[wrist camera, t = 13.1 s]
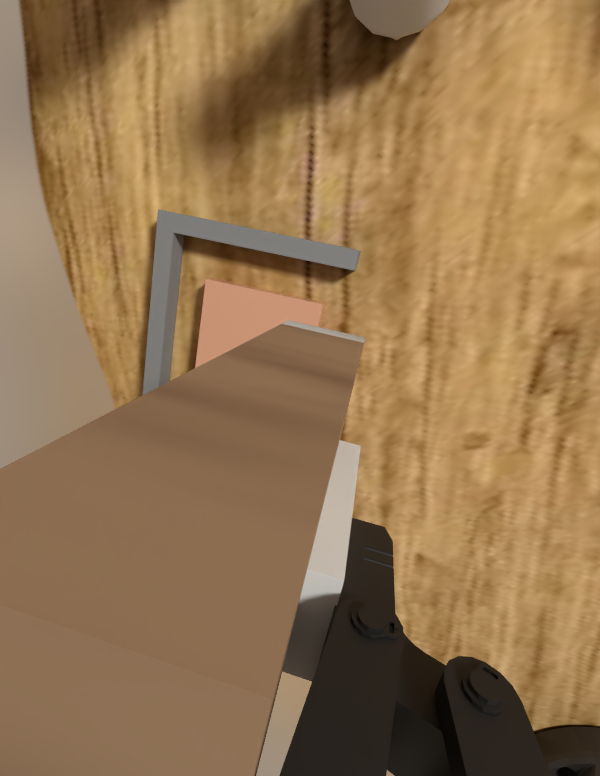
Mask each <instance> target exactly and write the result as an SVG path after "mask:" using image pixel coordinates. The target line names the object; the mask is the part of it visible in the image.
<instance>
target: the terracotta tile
mask: <svg viewBox="0 0 600 776" xmlns="http://www.w3.org/2000/svg"><path fill="white" fill-rule="evenodd" d="M325 304H326V303H325V302H321V301H316V300H312V299H307V298H302V297H298V296H293V295H289V294H284V293H279V292H275V291H270V290H266V289H261V288H257V287H252V286H247V285H243V284H238V283H234V282H229V281H224V280H220V279H215V278H211V279H206V281H205V290H204V298H203V306H202V315H201V323H200V331H199V340H198V348H197V356H196V365H195V368H197V367H199V366H201V365H203V364H204V363H206V362H208V361H210V360H212V359H214V358H216V357H218V356H220V355H222V354H224V353H226V352H228V351H230V350H232V349H234V348H235V347H237V346H239V345H241V344H243V343H245V342H247V341H249V340H251V339H253V338H255V337H257V336H259V335H261V334H263V333H264V332H266V331H268V330H270V329H272V328H274V327H276V326H278V325H280V324H282V323H284V322H286V321H288V320H290V321H295V322H299V323H304V324H308V325H312V326H317V327H321V323H322V318H323V314H324V309H325Z"/></svg>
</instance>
